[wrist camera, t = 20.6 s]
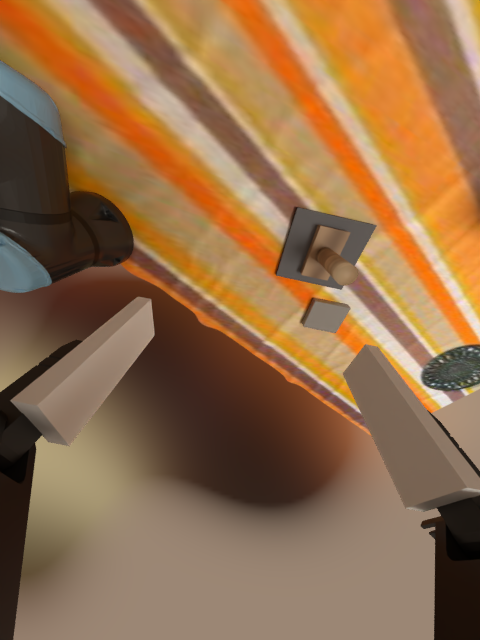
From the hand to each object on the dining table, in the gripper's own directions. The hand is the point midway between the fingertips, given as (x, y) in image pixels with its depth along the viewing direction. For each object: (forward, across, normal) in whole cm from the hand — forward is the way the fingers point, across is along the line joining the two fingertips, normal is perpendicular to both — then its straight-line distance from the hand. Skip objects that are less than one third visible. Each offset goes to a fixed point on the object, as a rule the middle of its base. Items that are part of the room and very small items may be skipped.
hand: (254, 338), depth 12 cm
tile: (+34, +17, -15) cm, 41 cm away
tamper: (+34, +14, 0) cm, 36 cm away
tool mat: (+35, +14, 0) cm, 37 cm away
